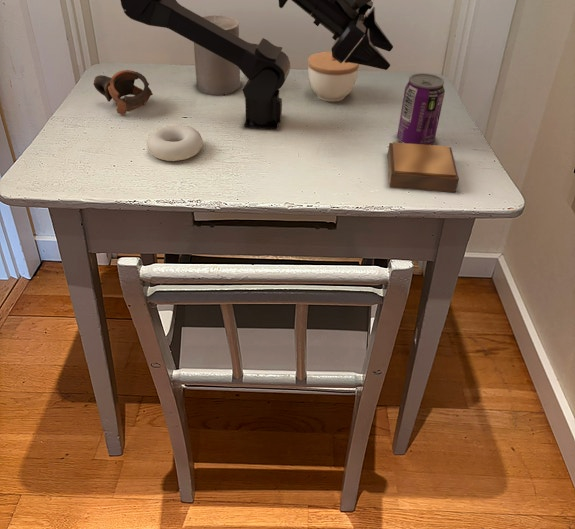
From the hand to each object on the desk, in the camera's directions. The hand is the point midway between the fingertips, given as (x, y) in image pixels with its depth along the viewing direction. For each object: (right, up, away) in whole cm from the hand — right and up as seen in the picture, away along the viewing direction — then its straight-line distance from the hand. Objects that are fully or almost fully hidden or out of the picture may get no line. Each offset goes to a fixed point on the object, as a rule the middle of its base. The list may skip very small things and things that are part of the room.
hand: (390, 58), depth 101 cm
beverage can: (+6, -13, +8) cm, 17 cm away
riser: (+5, -21, -1) cm, 21 cm away
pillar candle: (-34, +3, +26) cm, 42 cm away
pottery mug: (-52, -4, +17) cm, 55 cm away
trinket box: (-9, 0, +23) cm, 25 cm away
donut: (-39, -16, +3) cm, 42 cm away
